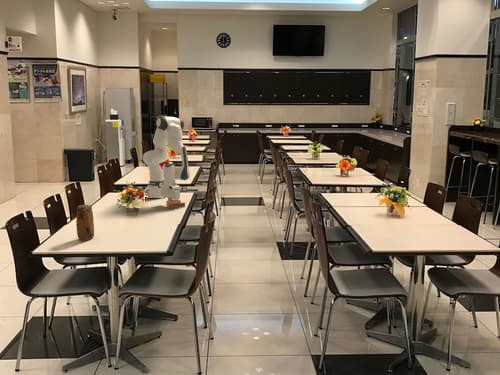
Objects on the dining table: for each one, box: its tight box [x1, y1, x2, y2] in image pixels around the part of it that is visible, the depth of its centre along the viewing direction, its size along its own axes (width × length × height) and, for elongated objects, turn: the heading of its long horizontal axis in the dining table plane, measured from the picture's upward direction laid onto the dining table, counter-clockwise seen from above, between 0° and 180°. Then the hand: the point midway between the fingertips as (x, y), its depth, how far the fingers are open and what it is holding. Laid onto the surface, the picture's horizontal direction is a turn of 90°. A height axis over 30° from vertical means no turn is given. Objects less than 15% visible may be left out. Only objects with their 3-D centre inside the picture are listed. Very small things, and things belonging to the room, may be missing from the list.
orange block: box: [165, 199, 182, 209], centre depth 388 cm, size 6×9×5 cm, turn 141°
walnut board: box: [168, 202, 186, 210], centre depth 385 cm, size 2×13×3 cm, turn 135°
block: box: [75, 204, 95, 242], centre depth 300 cm, size 11×8×20 cm
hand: (170, 203), depth 391 cm, fingers closed, pressing on orange block
